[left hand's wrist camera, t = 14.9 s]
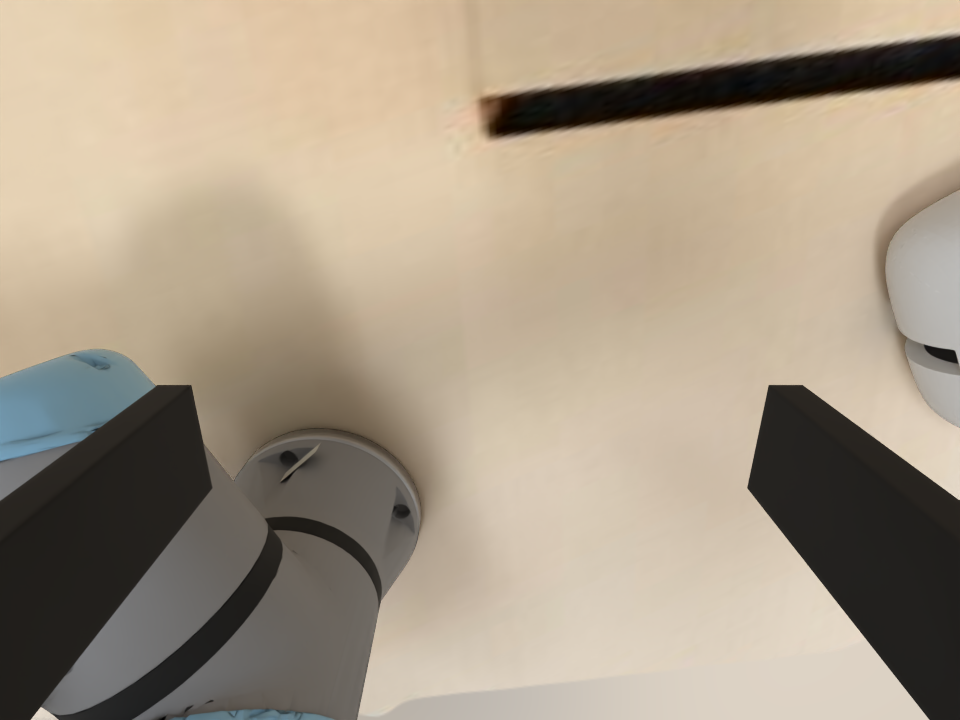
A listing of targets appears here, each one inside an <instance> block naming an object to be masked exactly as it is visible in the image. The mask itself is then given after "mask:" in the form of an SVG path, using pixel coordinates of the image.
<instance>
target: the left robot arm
mask: <svg viewBox="0 0 960 720" xmlns="http://www.w3.org/2000/svg"><path fill="white" fill-rule="evenodd" d="M747 488H748V490H749V491H750V492H751V493H752V495H753V496H754V497H755V498H756V500H757V501H758V502H759V504H760V505H761V506H762V507H763V509H764V510H765V511H766V512H767V514H768V515H769V516H770V517H771V519H772V520H773V521H774V523H775V524H776V525H777V526H778V528H779V529H780V530H781V531H782V533H783V534H784V535H785V537H786V538H787V539H788V540H789V542H790V543H791V544H792V545H793V547H794V548H795V549H796V551H797V552H798V553H799V554H800V556H801V557H802V558H803V559H804V561H805V562H806V563H807V565H808V566H809V567H810V568H811V570H812V571H813V572H814V573H815V575H816V576H817V577H818V579H819V580H820V581H821V582H822V584H823V585H824V586H825V587H826V589H827V590H828V591H829V593H830V594H831V595H832V596H833V598H834V599H835V600H836V601H837V603H838V604H839V605H840V607H841V608H842V609H843V610H844V612H845V613H846V614H847V615H848V617H849V618H850V619H851V620H852V622H853V623H854V624H855V626H856V627H857V628H858V629H859V631H860V632H861V633H862V634H863V636H864V637H865V638H866V640H867V641H868V642H869V643H870V645H871V646H872V647H873V648H874V650H875V651H876V652H877V654H878V655H879V656H880V657H881V659H882V660H883V661H884V662H885V664H886V665H887V666H888V668H889V669H890V670H891V671H892V673H893V674H894V675H895V676H896V678H897V679H898V680H899V682H900V683H901V684H902V685H903V687H904V688H905V689H906V690H907V692H908V693H909V694H910V696H911V697H912V698H913V699H914V701H915V702H916V703H917V704H918V706H919V707H920V708H921V709H922V711H923V712H924V713H925V715H926V716H927V717H928V718H929V720H960V500H958V499H957V498H955V497H954V496H953V495H951V494H950V493H948V492H947V491H946V490H944V489H943V488H942V487H940V486H939V485H938V484H936V483H935V482H933V481H932V480H931V479H929V478H928V477H927V476H925V475H924V474H923V473H921V472H920V471H919V470H917V469H916V468H914V467H913V466H912V465H910V464H909V463H908V462H906V461H905V460H904V459H902V458H901V457H899V456H898V455H897V454H895V453H894V452H893V451H891V450H890V449H889V448H887V447H886V446H885V445H883V444H882V443H880V442H879V441H878V440H876V439H875V438H874V437H872V436H871V435H870V434H868V433H867V432H865V431H864V430H863V429H861V428H860V427H859V426H857V425H856V424H855V423H853V422H852V421H851V420H849V419H848V418H846V417H845V416H844V415H842V414H841V413H840V412H838V411H837V410H836V409H834V408H833V407H831V406H830V405H829V404H827V403H826V402H825V401H823V400H822V399H821V398H819V397H818V396H817V395H815V394H814V393H812V392H811V391H810V390H808V389H807V388H806V387H804V386H803V385H769V387H768V392H767V396H766V401H765V406H764V411H763V416H762V420H761V425H760V430H759V435H758V439H757V444H756V449H755V454H754V459H753V463H752V468H751V473H750V478H749V483H748V487H747ZM420 521H421V505H420V500H419V496H418V492H417V489H416V487H415V485H414V482H413V481H412V479H411V477H410V475H409V474H408V472H407V471H406V470H405V468H404V467H403V466H402V465H401V464H400V462H399V461H398V460H397V459H396V458H395V457H393V456H392V455H391V454H390V453H389V452H387V451H386V450H385V449H383V448H382V447H380V446H379V445H377V444H375V443H373V442H372V441H370V440H368V439H365V438H363V437H361V436H358V435H355V434H352V433H348V432H344V431H340V430H333V429H305V430H299V431H294V432H291V433H287V434H284V435H282V436H279V437H277V438H275V439H273V440H271V441H269V442H268V443H266V444H265V445H263V446H262V447H261V448H260V449H258V450H257V451H256V452H255V453H254V454H253V455H252V456H251V457H250V459H249V460H248V461H247V463H246V464H245V465H244V467H243V468H242V469H241V471H240V472H239V473H238V475H237V477H236V478H235V480H234V481H233V480H232V479H231V477H230V476H229V475H228V474H227V472H226V471H225V470H224V469H223V467H222V466H221V465H220V464H219V462H218V461H217V460H216V459H215V457H214V456H213V455H212V454H211V452H210V451H209V450H208V449H207V447H206V446H205V445H204V444H203V440H202V435H201V430H200V425H199V420H198V416H197V411H196V406H195V401H194V396H193V392H192V387H191V385H157V386H155V385H154V384H153V383H152V381H151V380H150V379H149V378H148V377H147V376H146V375H145V374H144V373H143V372H142V370H141V369H140V368H139V367H138V366H137V365H136V364H135V363H134V362H133V361H132V360H130V359H129V358H127V357H126V356H124V355H122V354H120V353H117V352H114V351H110V350H104V349H91V350H83V351H78V352H74V353H71V354H68V355H64V356H61V357H58V358H55V359H52V360H49V361H46V362H44V363H41V364H38V365H35V366H32V367H29V368H26V369H24V370H21V371H18V372H15V373H13V374H10V375H7V376H5V377H2V378H0V720H31V718H32V717H33V716H34V715H35V713H36V712H37V711H38V710H39V708H40V707H42V708H44V709H45V710H47V711H48V712H50V713H51V714H53V715H54V716H55V717H56V718H57V719H59V720H357V717H358V712H359V707H360V702H361V697H362V692H363V687H364V682H365V677H366V672H367V667H368V662H369V657H370V652H371V647H372V642H373V637H374V632H375V627H376V622H377V617H378V612H379V607H380V603H381V600H382V599H383V597H384V596H385V594H386V593H387V592H388V590H389V589H390V587H391V586H392V584H393V583H394V581H395V580H396V579H397V577H398V576H399V574H400V573H401V571H402V570H403V569H404V567H405V566H406V564H407V563H408V561H409V559H410V557H411V555H412V553H413V551H414V549H415V546H416V543H417V540H418V534H419V528H420Z"/></svg>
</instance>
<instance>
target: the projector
mask: <svg viewBox="0 0 960 720" xmlns="http://www.w3.org/2000/svg"><path fill="white" fill-rule="evenodd" d="M885 274H886V283H887V288H888V293H889V298H890V301H891V305H892V309H893V313H894V316H895V320H896V323H897V326H898V329H899V330H900V332H901V333H902V334H903V335H905V336H906V337H908V338H907V340H906V343H905V353H906V356H907V359H908V362H909V365H910V368H911V371H912V374H913V377H914V379H915V382H916V384H917V387H918V389H919V391H920V393H921V395H922V397H923V399H924V400H925V401H926V403H927V404H928V406H929V407H930V408H931V409H932V410H933V411H934V412H935V413H937V414H938V415H939V416H940V417H942V418H943V419H945V420H946V421H948V422H950V423H951V424H953V425H955V426H957V427H959V428H960V190H958V191H956V192H954V193H952V194H950V195H948V196H946V197H944V198H942V199H941V200H939V201H937V202H935V203H934V204H932V205H930V206H928V207H927V208H925V209H923V210H922V211H920V212H919V213H918V214H916V215H915V216H913V217H912V218H910V219H909V220H908V221H907V222H906V223H905V224H903V225H902V226H901V227H900V228H899V230H898V231H897V232H896V233H895V235H894V236H893V238H892V240H891V242H890V244H889V247H888V250H887V255H886V265H885Z"/></svg>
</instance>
